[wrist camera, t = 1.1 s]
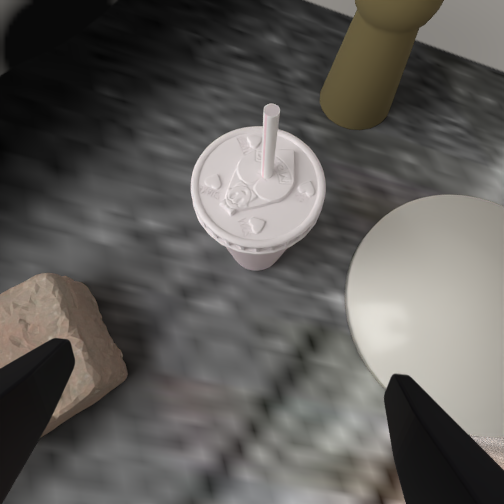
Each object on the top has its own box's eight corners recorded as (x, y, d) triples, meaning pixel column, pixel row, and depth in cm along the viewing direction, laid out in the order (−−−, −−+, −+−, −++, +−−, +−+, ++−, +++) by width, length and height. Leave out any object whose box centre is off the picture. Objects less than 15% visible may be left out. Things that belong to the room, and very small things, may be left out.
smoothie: (317, 248, 25) (394, 123, 11) (254, 308, 23) (256, 247, 10) (257, 191, 26) (262, 18, 13) (195, 244, 25) (126, 117, 11)
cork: (337, 139, 27) (390, 5, 17) (308, 83, 29) (340, -71, 18) (403, 117, 28) (494, -26, 17) (370, 63, 30) (435, -96, 19)
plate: (629, 347, 22) (649, 347, 21) (445, 487, 20) (456, 495, 19) (469, 167, 26) (479, 159, 25) (301, 266, 24) (303, 262, 23)
